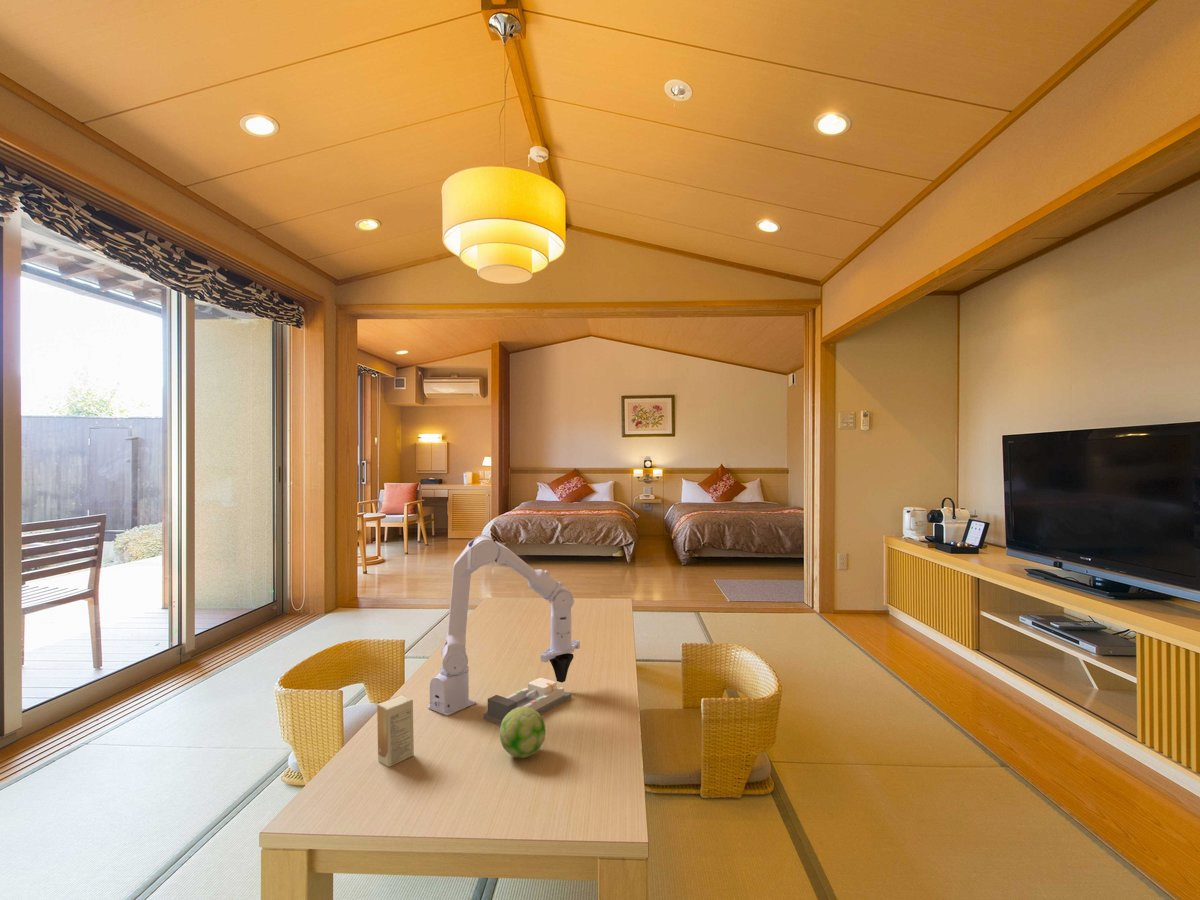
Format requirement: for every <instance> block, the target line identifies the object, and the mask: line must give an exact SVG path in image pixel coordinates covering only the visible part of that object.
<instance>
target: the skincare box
mask: <svg viewBox="0 0 1200 900" xmlns="http://www.w3.org/2000/svg"><path fill="white" fill-rule="evenodd" d="M413 701H414V699H413V698H410V697H409V696H407V695H406V696H405V695H403V694H401V695H398V696H395V697H393V698H391V699H387V700H385V701H382V702H380V703H379V702H378V703H377V705H376V706H377V707H376V708H377V709H376V711H377V712H376V713H377V714H376V715H377V762H379V763H381V764H382V765H384V766H385V767H387V768H389V767H393V766H394V765H398V764H399V763H400V762H403V761H405V760H406V759H409V758H411V757H413V756H414V755H415V748H414V747H415V746H414V744H415V743H414V742H415V741H414V702H413Z"/></svg>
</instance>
